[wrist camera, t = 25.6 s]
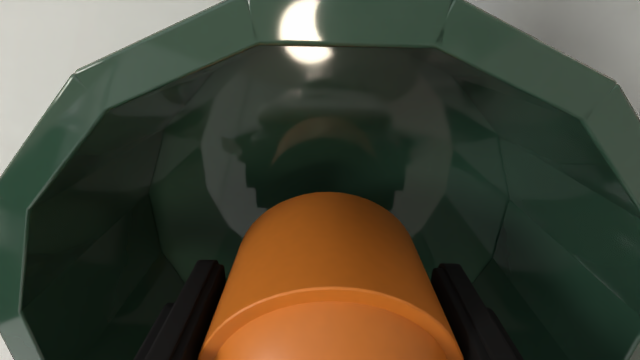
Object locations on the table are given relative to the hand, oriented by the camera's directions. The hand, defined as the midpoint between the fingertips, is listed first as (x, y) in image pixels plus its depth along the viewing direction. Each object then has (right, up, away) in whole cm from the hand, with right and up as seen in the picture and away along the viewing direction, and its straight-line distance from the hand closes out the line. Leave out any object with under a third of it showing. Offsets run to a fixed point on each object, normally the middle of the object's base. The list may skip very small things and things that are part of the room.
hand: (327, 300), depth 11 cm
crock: (0, +2, +4) cm, 5 cm away
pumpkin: (0, +1, +1) cm, 1 cm away
